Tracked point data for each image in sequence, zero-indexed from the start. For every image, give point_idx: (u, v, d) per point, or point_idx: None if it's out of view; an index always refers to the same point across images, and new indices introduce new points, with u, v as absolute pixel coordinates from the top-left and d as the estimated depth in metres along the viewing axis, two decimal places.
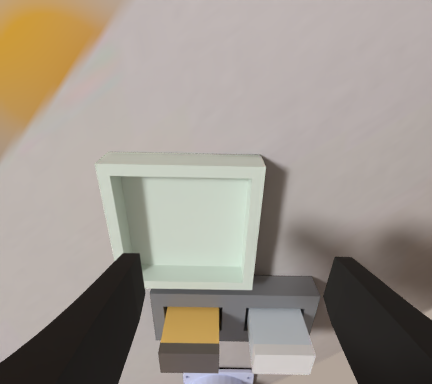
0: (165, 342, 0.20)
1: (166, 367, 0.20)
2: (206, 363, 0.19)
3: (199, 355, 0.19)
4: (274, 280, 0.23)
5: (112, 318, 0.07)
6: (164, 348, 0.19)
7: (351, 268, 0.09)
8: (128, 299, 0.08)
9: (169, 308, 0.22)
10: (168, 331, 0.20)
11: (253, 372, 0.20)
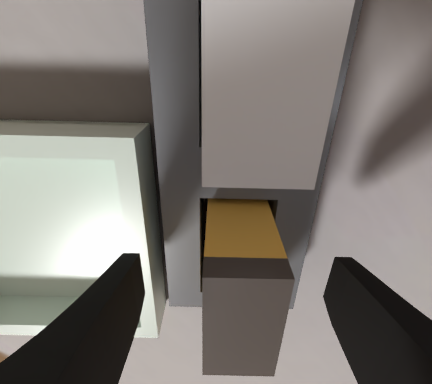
0: None
1: (256, 367, 0.09)
2: (246, 303, 0.07)
3: (208, 314, 0.07)
4: None
5: (112, 318, 0.07)
6: None
7: (351, 268, 0.09)
8: (128, 299, 0.08)
9: None
10: None
11: (308, 186, 0.06)
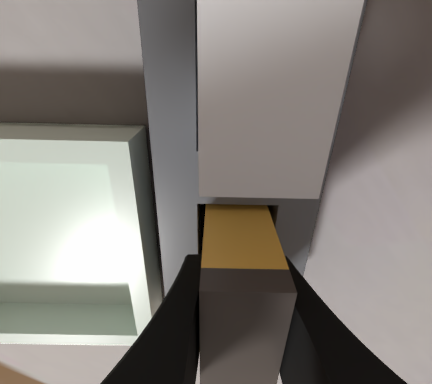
0: None
1: (256, 381, 0.08)
2: (245, 317, 0.07)
3: (206, 328, 0.07)
4: None
5: (196, 320, 0.07)
6: None
7: None
8: None
9: None
10: None
11: (312, 195, 0.05)
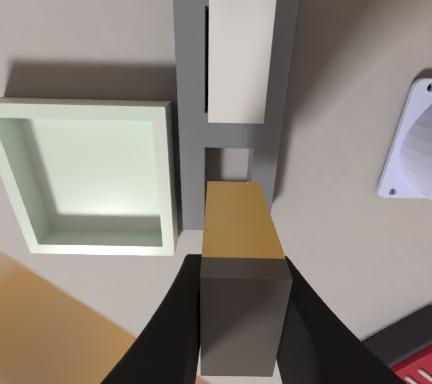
0: None
1: (254, 367, 0.09)
2: (243, 303, 0.07)
3: (206, 315, 0.07)
4: None
5: (196, 319, 0.07)
6: None
7: None
8: None
9: None
10: None
11: (260, 121, 0.11)
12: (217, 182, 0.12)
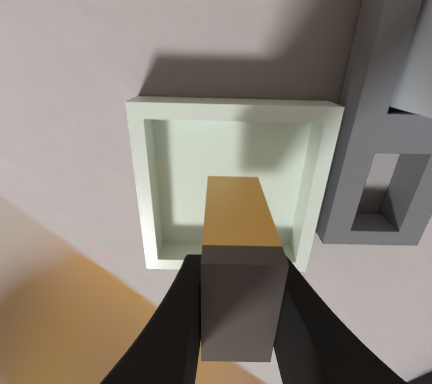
0: None
1: (252, 353, 0.09)
2: (242, 289, 0.08)
3: (206, 300, 0.08)
4: (354, 55, 0.13)
5: (196, 320, 0.07)
6: None
7: None
8: None
9: None
10: None
11: None
12: (217, 177, 0.12)
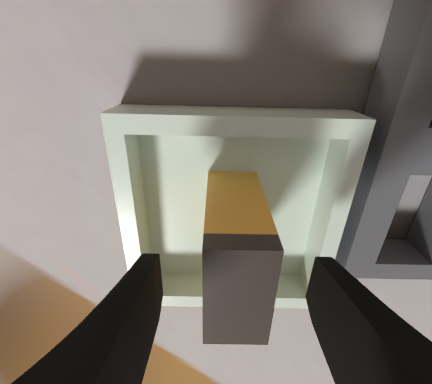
0: None
1: (251, 335, 0.09)
2: (241, 273, 0.08)
3: (207, 284, 0.08)
4: (386, 55, 0.11)
5: (137, 318, 0.07)
6: None
7: (329, 268, 0.09)
8: (150, 299, 0.08)
9: None
10: None
11: None
12: (217, 172, 0.13)
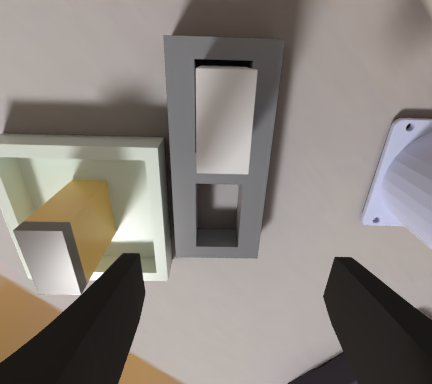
0: None
1: (67, 288, 0.15)
2: (42, 245, 0.13)
3: (25, 252, 0.13)
4: None
5: (112, 318, 0.07)
6: None
7: (351, 268, 0.09)
8: (128, 299, 0.08)
9: None
10: None
11: (245, 172, 0.12)
12: (79, 180, 0.18)
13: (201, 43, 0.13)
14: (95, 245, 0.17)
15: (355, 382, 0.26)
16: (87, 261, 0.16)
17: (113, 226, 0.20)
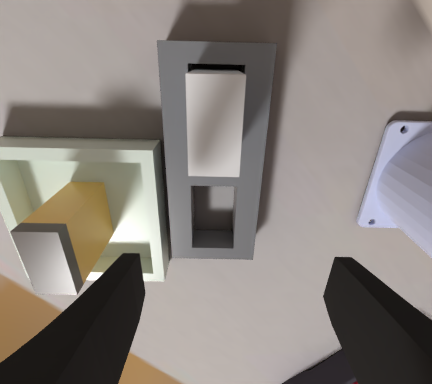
0: None
1: (64, 288, 0.15)
2: (39, 246, 0.14)
3: (22, 253, 0.14)
4: None
5: (112, 318, 0.07)
6: None
7: (351, 268, 0.09)
8: (128, 299, 0.08)
9: None
10: None
11: (236, 175, 0.12)
12: (77, 182, 0.19)
13: (194, 48, 0.13)
14: (92, 246, 0.17)
15: (346, 383, 0.26)
16: (84, 261, 0.16)
17: (111, 227, 0.20)
